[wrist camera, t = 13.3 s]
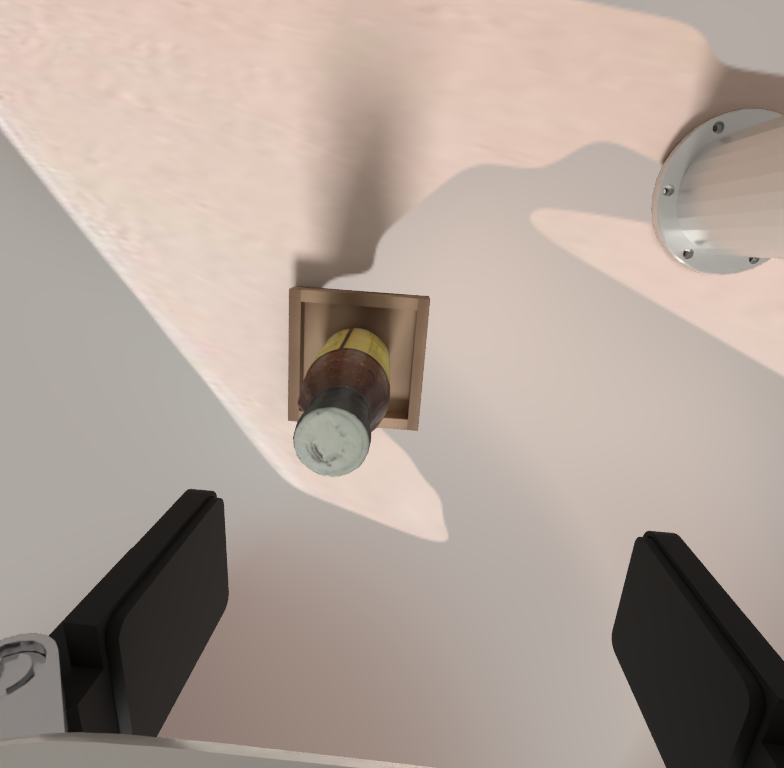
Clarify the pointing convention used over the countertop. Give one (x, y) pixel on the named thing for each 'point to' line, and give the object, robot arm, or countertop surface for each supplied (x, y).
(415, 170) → the countertop surface
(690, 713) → the robot arm
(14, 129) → the countertop surface
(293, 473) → the countertop surface
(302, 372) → the tray
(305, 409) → the sauce bottle
